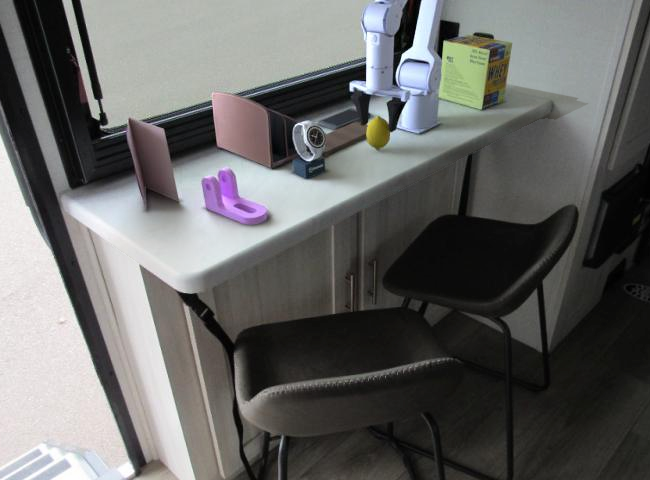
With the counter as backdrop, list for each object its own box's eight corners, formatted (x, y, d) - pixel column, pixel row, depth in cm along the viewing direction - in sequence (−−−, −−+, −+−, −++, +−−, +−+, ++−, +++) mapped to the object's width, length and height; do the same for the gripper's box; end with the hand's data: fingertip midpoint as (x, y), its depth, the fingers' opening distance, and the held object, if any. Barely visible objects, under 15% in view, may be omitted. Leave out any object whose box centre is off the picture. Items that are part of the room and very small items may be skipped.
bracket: (206, 208, 112) (200, 175, 108) (226, 197, 116) (221, 165, 112) (252, 227, 106) (248, 193, 102) (273, 215, 109) (269, 182, 105)
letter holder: (271, 169, 126) (265, 105, 118) (216, 147, 137) (207, 87, 129) (303, 155, 132) (299, 94, 124) (248, 135, 143) (241, 77, 135)
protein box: (482, 110, 154) (490, 49, 145) (437, 98, 163) (442, 40, 154) (504, 101, 159) (513, 42, 150) (460, 90, 169) (466, 33, 159)
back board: (356, 125, 147) (356, 121, 147) (378, 131, 143) (378, 127, 143) (302, 148, 136) (301, 144, 135) (325, 156, 132) (324, 152, 131)
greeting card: (141, 187, 121) (123, 117, 112) (176, 182, 122) (161, 112, 113) (141, 211, 112) (122, 137, 103) (179, 205, 113) (164, 132, 104)
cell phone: (372, 116, 152) (372, 113, 152) (336, 130, 144) (336, 127, 144) (351, 110, 156) (351, 107, 156) (316, 124, 148) (316, 121, 148)
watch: (311, 181, 121) (309, 131, 114) (288, 170, 126) (284, 121, 119) (331, 173, 124) (330, 124, 117) (307, 163, 129) (305, 114, 122)
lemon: (388, 155, 131) (389, 121, 126) (364, 154, 132) (364, 120, 127) (391, 146, 135) (392, 112, 131) (368, 145, 136) (368, 111, 132)
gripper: (341, 65, 123) (342, 126, 131) (399, 74, 116) (396, 139, 124) (359, 57, 128) (359, 117, 136) (416, 66, 121) (412, 129, 129)
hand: (378, 127), depth 130 cm, fingers open, 7 cm apart
